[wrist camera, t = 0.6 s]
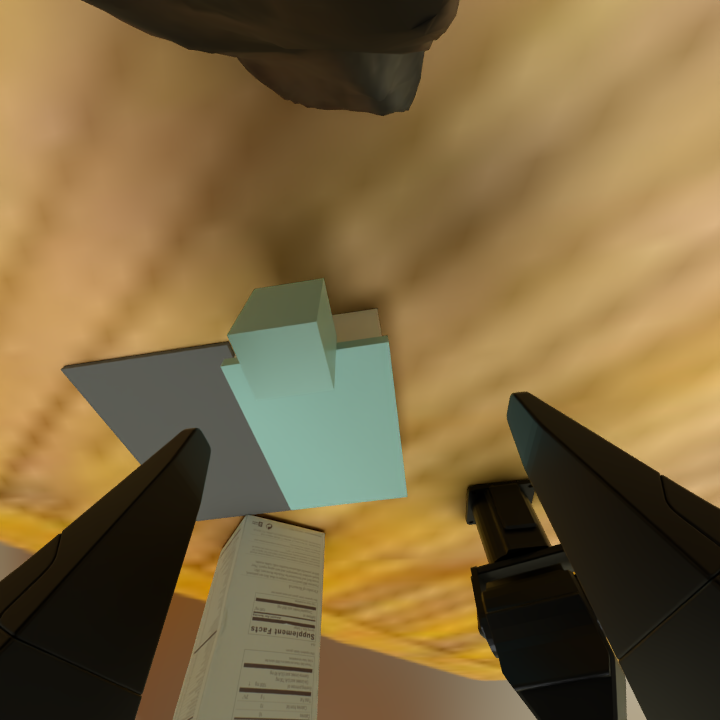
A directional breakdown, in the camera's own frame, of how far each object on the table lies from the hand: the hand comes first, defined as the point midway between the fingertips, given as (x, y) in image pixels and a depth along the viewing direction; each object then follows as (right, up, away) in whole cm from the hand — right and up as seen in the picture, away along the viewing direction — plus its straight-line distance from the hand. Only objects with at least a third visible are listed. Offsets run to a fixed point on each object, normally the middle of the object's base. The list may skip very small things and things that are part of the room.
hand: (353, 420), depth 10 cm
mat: (-13, -6, +19) cm, 24 cm away
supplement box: (-10, -19, +28) cm, 35 cm away
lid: (-2, -2, +12) cm, 12 cm away
